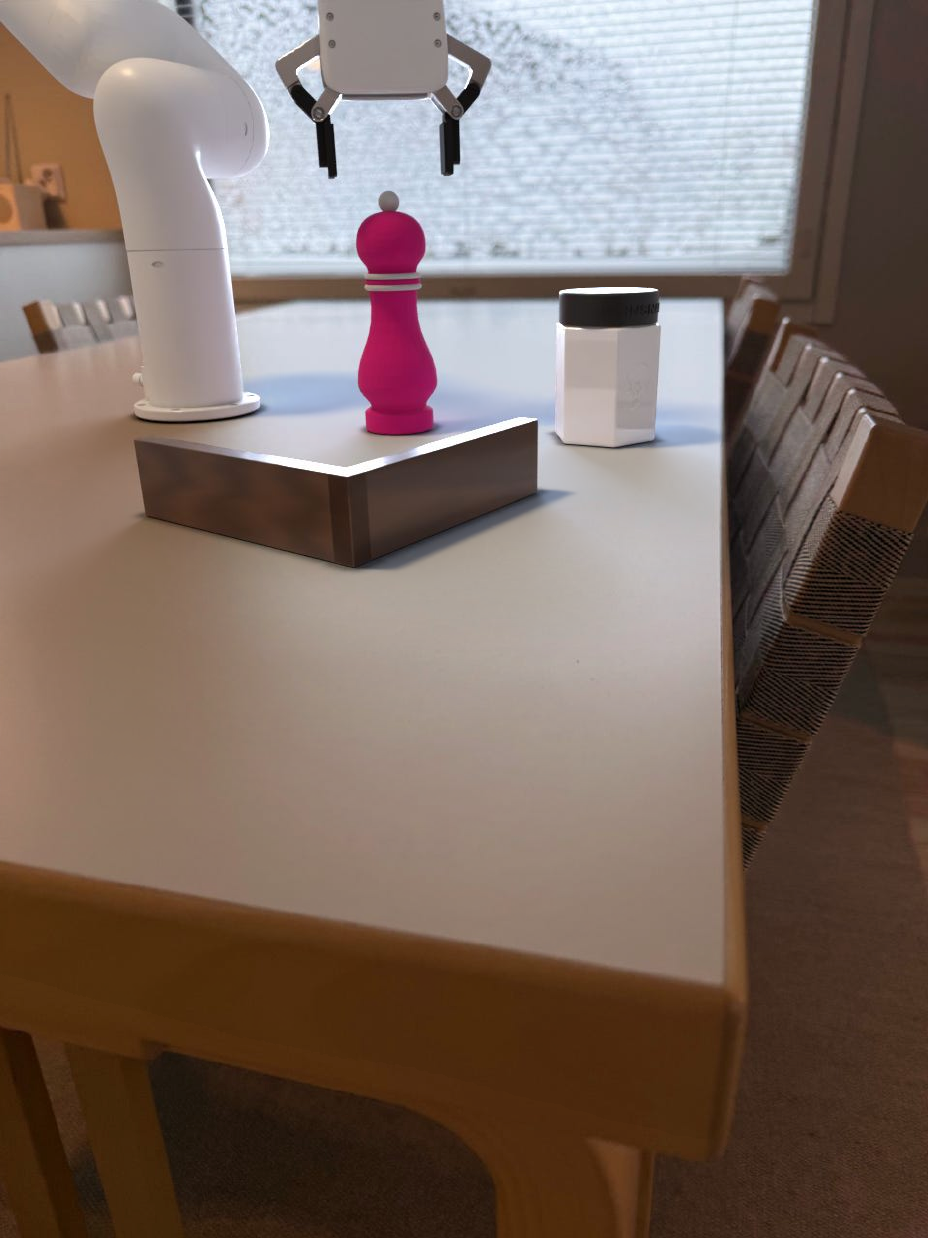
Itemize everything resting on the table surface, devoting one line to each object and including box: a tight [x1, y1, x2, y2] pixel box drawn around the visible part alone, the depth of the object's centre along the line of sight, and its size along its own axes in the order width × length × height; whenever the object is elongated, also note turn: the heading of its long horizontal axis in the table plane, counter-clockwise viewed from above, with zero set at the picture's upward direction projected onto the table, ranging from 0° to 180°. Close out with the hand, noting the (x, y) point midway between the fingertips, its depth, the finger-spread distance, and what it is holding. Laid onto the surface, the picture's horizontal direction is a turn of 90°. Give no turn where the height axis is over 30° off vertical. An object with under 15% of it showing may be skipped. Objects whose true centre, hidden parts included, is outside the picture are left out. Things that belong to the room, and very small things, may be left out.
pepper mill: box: [355, 190, 438, 436], centre depth 82 cm, size 7×7×20 cm
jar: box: [554, 287, 662, 448], centre depth 77 cm, size 9×8×12 cm
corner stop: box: [133, 417, 539, 568], centre depth 61 cm, size 18×18×5 cm
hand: (390, 176), depth 77 cm, fingers open, 9 cm apart
